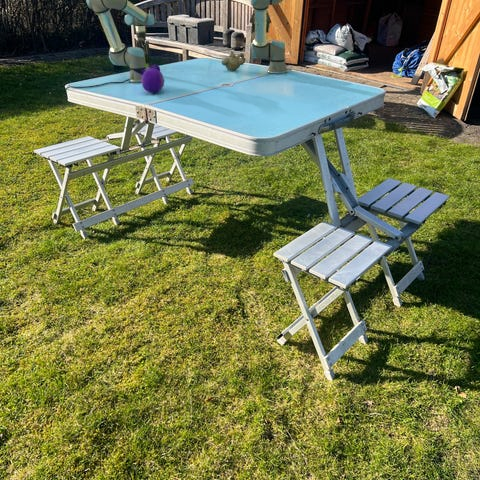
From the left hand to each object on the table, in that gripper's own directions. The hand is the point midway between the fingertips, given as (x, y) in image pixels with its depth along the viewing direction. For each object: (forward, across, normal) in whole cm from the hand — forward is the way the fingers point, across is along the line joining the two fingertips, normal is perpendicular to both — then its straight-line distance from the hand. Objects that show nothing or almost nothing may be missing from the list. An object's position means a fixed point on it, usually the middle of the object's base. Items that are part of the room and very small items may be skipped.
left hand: (144, 63), depth 364 cm
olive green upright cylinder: (+6, 0, 0) cm, 6 cm away
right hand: (-19, -62, -76) cm, 100 cm away
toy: (+8, -55, +46) cm, 72 cm away
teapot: (+8, -57, -45) cm, 72 cm away
